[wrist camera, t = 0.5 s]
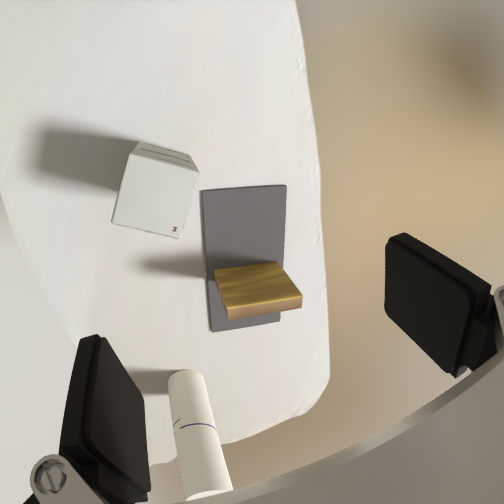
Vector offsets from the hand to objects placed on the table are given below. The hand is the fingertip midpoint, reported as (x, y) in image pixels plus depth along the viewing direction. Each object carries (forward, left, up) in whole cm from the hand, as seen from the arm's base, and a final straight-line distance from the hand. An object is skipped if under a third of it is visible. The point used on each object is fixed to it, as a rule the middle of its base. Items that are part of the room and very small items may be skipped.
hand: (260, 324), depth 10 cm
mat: (+17, +8, -35) cm, 40 cm away
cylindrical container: (+41, -4, -35) cm, 54 cm away
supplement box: (+2, -4, -35) cm, 36 cm away
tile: (+18, +8, -35) cm, 40 cm away
